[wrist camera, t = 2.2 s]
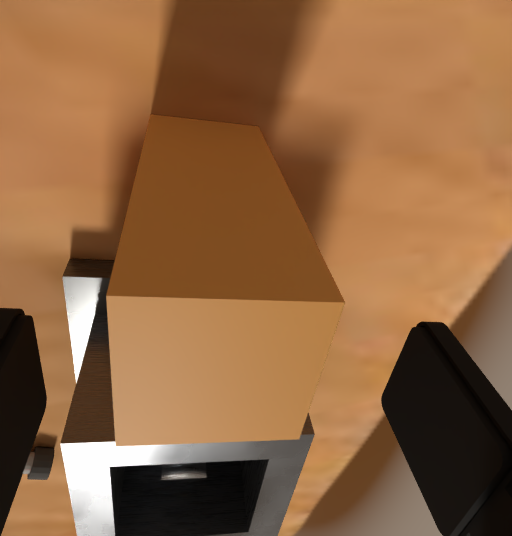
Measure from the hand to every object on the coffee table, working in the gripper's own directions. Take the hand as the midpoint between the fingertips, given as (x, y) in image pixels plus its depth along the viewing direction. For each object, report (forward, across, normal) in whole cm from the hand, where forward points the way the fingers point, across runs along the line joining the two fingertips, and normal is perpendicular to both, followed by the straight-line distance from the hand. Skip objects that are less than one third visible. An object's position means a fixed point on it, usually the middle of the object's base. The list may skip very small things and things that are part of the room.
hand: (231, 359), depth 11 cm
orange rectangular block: (+11, +1, -1) cm, 11 cm away
